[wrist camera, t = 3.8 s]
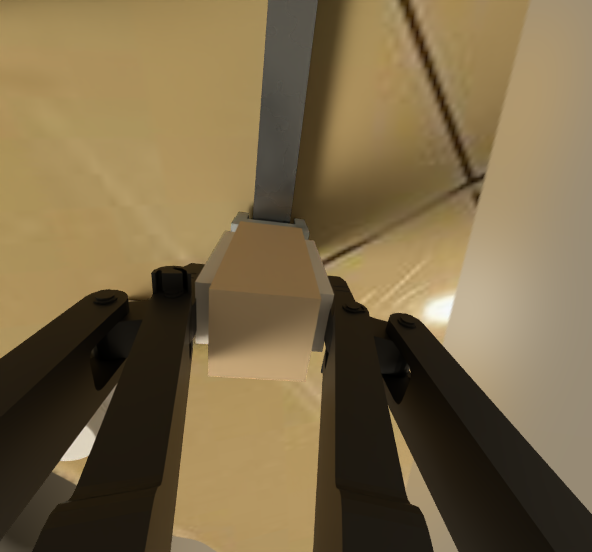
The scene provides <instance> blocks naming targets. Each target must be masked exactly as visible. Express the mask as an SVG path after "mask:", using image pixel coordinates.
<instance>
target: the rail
mask: <svg viewBox="0 0 592 552" xmlns="http://www.w3.org/2000/svg"><path fill="white" fill-rule="evenodd" d="M317 4H318V0H268V12H267V26H266V40H265V54H264V68H263V82H262V96H261V110H260V124H259V139H258V153H257V167H256V181H255V195H254V209H253V219H254V220H262V221H271V222H280V223H288V224H290V219H291V211H292V203H293V195H294V187H295V179H296V171H297V163H298V155H299V147H300V139H301V131H302V123H303V115H304V107H305V99H306V91H307V83H308V75H309V67H310V59H311V51H312V43H313V35H314V27H315V19H316V12H317Z"/></svg>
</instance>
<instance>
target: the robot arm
mask: <svg viewBox="0 0 592 552" xmlns="http://www.w3.org/2000/svg"><path fill="white" fill-rule="evenodd" d="M234 234H235V232H231V231H224V233H223V235H222V237H221V238H220V240H219V242H218V243H217V245H216V247H215V249H214V250H213V252H212V254H211V255H210V257H209V259H208V261H207V262H206V264H195V263H191V264H189V265H187V266H185V267H181V266H165V267H160V268H158V269H155V270H154V271H153V272H152V273H151V275H152V287H153V295H152V297H151V299H149V300H142V301H130V302H128V296H127V294H126V293H125V292H123V291H119V290H110V289H108V290H100V291H98V292H95V293H91V294H90V295H88V296H86V297H84V298H83V299H82V300H80V301H79V302H78V303H76V304H75V305H73V306H72V307H71V308H69V309H68V310H67V311H65V312H64V313H62V314H61V315H60V316H58V317H57V318H56V319H54V320H53V321H51V322H50V323H49V324H47V325H46V326H45V327H43V328H42V329H40V330H39V331H38V332H36V333H35V334H34V335H32V336H31V337H30V338H28V339H27V340H25V341H24V342H23V343H21V344H20V345H19V346H17V347H16V348H14V349H13V350H12V351H10V352H9V353H8V354H6V355H5V356H3V357H2V358H1V359H0V540H1V539H2V538H3V536H4V535H5V534H6V532H7V531H8V530H9V528H10V527H11V526H12V524H13V523H14V522H15V520H16V519H17V518H18V516H19V515H20V514H21V512H22V511H23V509H24V508H25V507H26V505H27V504H28V503H29V501H30V500H31V499H32V497H33V496H34V495H35V493H36V492H37V491H38V489H39V488H40V487H41V485H42V484H43V482H44V481H45V480H46V478H47V477H48V476H49V474H50V473H51V472H52V470H53V469H54V468H55V466H56V465H57V464H58V462H59V461H60V460H61V458H62V457H63V456H64V454H65V453H66V452H67V450H68V449H69V448H70V446H71V445H72V444H73V442H74V441H75V439H76V438H77V437H78V435H79V434H80V433H81V431H82V430H83V429H84V427H85V426H86V425H87V423H88V422H89V421H90V419H91V418H92V417H93V415H94V414H95V413H96V411H97V410H98V409H99V407H100V406H101V404H102V403H103V402H104V400H105V399H106V398H107V396H108V395H109V394H110V392H111V391H112V390H113V388H114V387H115V386H116V384H117V386H116V388H115V391H114V393H113V396H112V398H111V401H110V403H109V406H108V409H107V411H106V414H105V416H104V419H103V421H102V424H101V426H100V429H99V431H98V434H97V436H96V439H95V441H94V444H93V446H92V449H91V451H90V454H89V456H88V459H87V462H86V464H85V467H84V469H83V472H82V474H81V477H80V479H79V482H78V484H77V487H76V489H75V491H74V493H73V495H72V497H71V498H70V499H69V500H68V501H66V502H63V503H60V504H58V505H57V506H56V508H55V509H54V510H53V511H52V512H51V514H50V515H49V517H48V519H47V522H46V523H45V525H44V527H43V529H42V531H41V533H40V535H39V538H38V540H37V542H36V545H35V547H34V549H33V551H32V552H170V550H171V541H172V532H173V523H174V514H175V505H176V496H177V487H178V478H179V469H180V460H181V451H182V442H183V433H184V424H185V415H186V406H187V397H188V388H189V379H190V370H191V361H192V352H193V338H194V335H195V333H196V343H200V344H208V324H209V288H210V285H211V283H212V281H213V279H214V277H215V275H216V272H217V270H218V268H219V266H220V264H221V262H222V259H223V257H224V255H225V253H226V251H227V249H228V247H229V244H230V242H231V240H232V238H233V236H234ZM305 242H306V245H307V249H308V253H309V256H310V260H311V263H312V267H313V271H314V274H315V278H316V281H317V285H318V289H319V292H320V296H321V304H320V309H319V314H318V319H317V324H316V330H315V335H314V340H313V345H312V350H311V351H318V352H322V350H323V345H324V341H325V346H326V350H325V355H324V359H323V364H322V369H321V373H323V381H322V399H321V418H320V436H319V454H318V472H317V490H316V508H315V526H314V545H313V552H434V551H433V547H432V543H431V539H430V535H429V531H428V528H427V525H426V521H425V518H424V515H423V514H422V512H421V510H420V509H419V507H417V506H414V505H412V504H410V502H409V501H408V498H407V495H406V491H405V486H404V482H403V477H402V472H401V467H400V462H399V457H398V452H397V447H396V443H395V438H394V433H393V428H392V423H391V418H390V413H389V409H388V406H389V408H390V410H391V412H392V415H393V417H394V419H395V421H396V423H397V425H398V427H399V429H400V431H401V433H402V435H403V437H404V439H405V441H406V444H407V446H408V448H409V450H410V452H411V454H412V456H413V458H414V460H415V462H416V464H417V466H418V468H419V471H420V472H421V475H422V477H423V479H424V481H425V483H426V485H427V487H428V489H429V491H430V493H431V495H432V497H433V500H434V502H435V504H436V506H437V508H438V510H439V512H440V514H441V516H442V518H443V520H444V522H445V524H446V527H447V529H448V531H449V532H450V535H451V537H452V539H453V541H454V543H455V545H456V547H457V549H458V551H459V552H592V514H591V513H590V512H589V511H588V510H587V508H586V507H585V506H584V505H583V504H582V503H581V502H580V501H579V499H578V498H577V497H576V496H575V495H574V494H573V493H572V492H571V490H570V489H569V488H568V487H567V486H566V485H565V484H564V482H563V481H562V480H561V479H560V478H559V477H558V476H557V474H556V473H555V472H554V471H553V470H552V469H551V468H550V467H549V466H548V464H547V463H546V462H545V461H544V460H543V459H542V457H541V456H540V455H539V454H538V453H537V452H536V451H535V450H534V449H533V447H532V446H531V445H530V444H529V443H528V442H527V441H526V440H525V438H524V437H523V436H522V435H521V434H520V433H519V431H518V430H517V429H516V428H515V427H514V426H513V425H512V424H511V422H510V421H509V420H508V419H507V418H506V417H505V416H504V415H503V413H502V412H501V411H500V410H499V409H498V408H497V407H496V406H495V404H494V403H493V402H492V401H491V400H490V399H489V398H488V396H486V394H485V393H484V392H483V391H482V390H481V388H480V387H479V386H478V385H477V384H476V383H475V382H474V381H473V379H472V378H471V377H470V376H469V375H468V374H467V373H466V372H465V370H464V369H463V368H462V367H461V366H460V365H459V364H458V362H457V361H456V360H455V359H454V358H453V357H452V356H451V355H450V353H449V352H448V351H447V350H446V349H445V348H444V347H443V345H442V344H441V343H440V342H439V341H438V340H437V339H436V338H435V336H434V335H433V334H432V333H431V332H430V331H429V330H428V329H427V327H426V326H425V325H424V324H423V323H422V322H421V321H420V320H418V319H417V318H415V317H413V316H411V315H408V314H402V313H394V314H392V315H390V317H389V320H388V322H387V321H383V320H379V319H375V318H372V317H370V316H369V311H368V310H367V308H366V307H365V306H363V305H362V304H360V303H358V302H355V300H354V298H353V295H352V293H351V292H350V289H349V288H348V285H347V283H346V281H344V280H343V279H342V278H341V277H336V276H327V274H326V271H325V268H324V266H323V263H322V260H321V257H320V255H319V252H318V249H317V247H316V244H315V241H313V240H305ZM409 370H410V371H411V373H410V371H409Z"/></svg>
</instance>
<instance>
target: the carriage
mask: <svg viewBox="0 0 592 552" xmlns="http://www.w3.org/2000/svg"><path fill="white" fill-rule="evenodd" d="M231 232H235V234H234V236H233V238H232V240H231V242H230V244H229V247H228V249H227V251H226V253H225V255H224V257H223V259H222V262H221V264H220V266H219V268H218V270H217V272H216V275H215V277H214V279H213V281H212V283H211V285H210V288H209V324H208V376H212V377H230V378H248V379H266V380H284V381H301V382H306V376H307V371H308V366H309V361H310V356H311V350H312V345H313V340H314V335H315V330H316V324H317V319H318V314H319V309H320V304H321V296H320V292H319V289H318V285H317V281H316V278H315V274H314V271H313V267H312V263H311V260H310V256H309V253H308V249H307V245H306V242H305V240H308V238H309V230H308V227H307V226H306V223H305V220H304V219H296V218H294V224H288V223H280V222H271V221H262V220H254V219H249V213H245V212H238V214H237V216H236V217H235V218H234V220H233V222H232V223H231Z"/></svg>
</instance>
